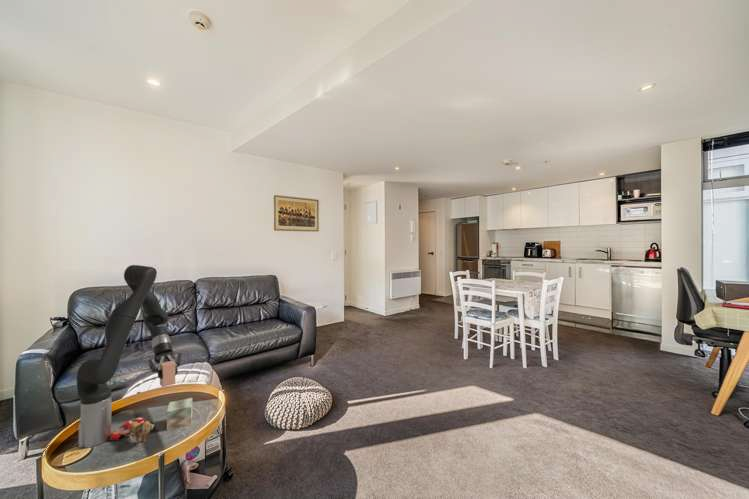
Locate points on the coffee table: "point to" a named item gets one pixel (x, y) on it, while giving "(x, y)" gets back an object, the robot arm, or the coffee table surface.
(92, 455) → the coffee table surface
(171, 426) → the sage green base block
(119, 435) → the race car
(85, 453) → the coffee table surface
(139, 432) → the lion figurine
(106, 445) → the coffee table surface
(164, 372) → the terracotta brick
